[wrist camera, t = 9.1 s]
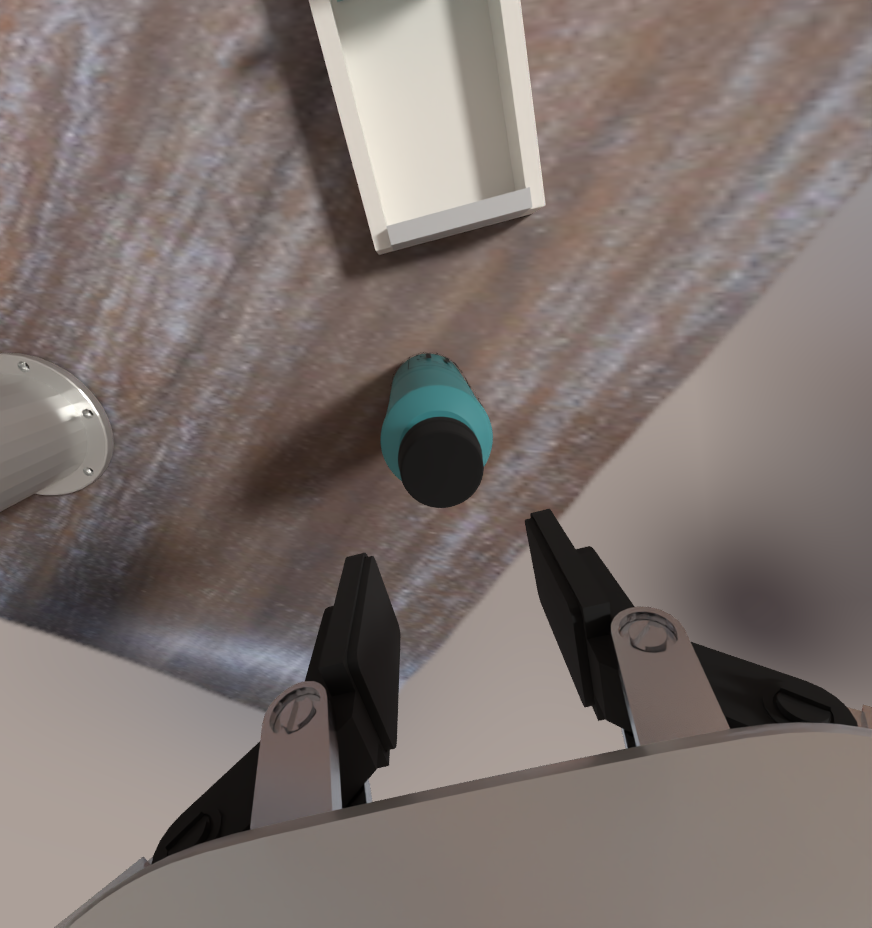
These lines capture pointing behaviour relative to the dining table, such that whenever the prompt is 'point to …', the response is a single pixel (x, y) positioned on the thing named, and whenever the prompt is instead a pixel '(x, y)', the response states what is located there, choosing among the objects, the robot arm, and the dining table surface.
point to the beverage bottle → (435, 432)
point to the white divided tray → (433, 113)
